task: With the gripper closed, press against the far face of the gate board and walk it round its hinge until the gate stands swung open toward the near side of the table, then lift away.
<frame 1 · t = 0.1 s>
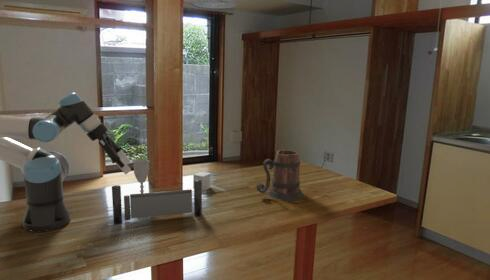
hand: (128, 167, 151), 15 cm above the table, tool tilted 35°, fingers open, 13 cm apart
product box: (202, 188, 174), on the table
chalice: (142, 202, 155), on the table
gate frame: (127, 221, 136), on the table
tankard: (279, 195, 168), on the table
gate leaf: (158, 204, 138), point 6 cm above the table, hinge at 0.0°
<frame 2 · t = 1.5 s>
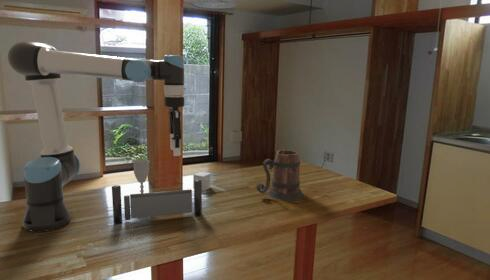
hand: (175, 152, 144), 24 cm above the table, tool pointing down, fingers open, 10 cm apart
nothing on the table moved.
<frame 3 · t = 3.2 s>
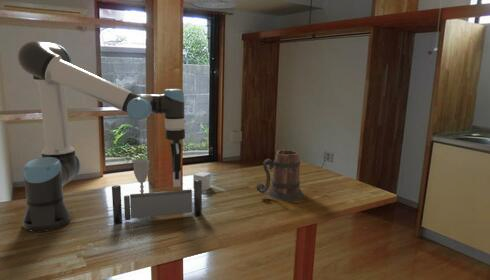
hand: (176, 186, 147), 10 cm above the table, tool pointing down, fingers closed
nothing on the table moved.
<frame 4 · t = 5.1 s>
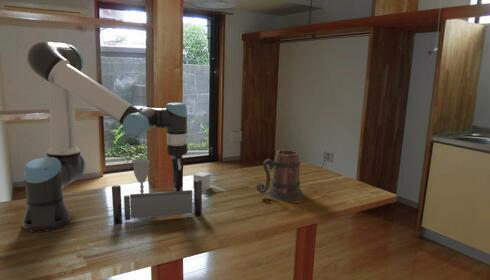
hand: (178, 201, 143), 5 cm above the table, tool pointing down, fingers closed
gate leaf: (158, 204, 137), point 6 cm above the table, hinge at -2.0°, touching gripper
everything else where it was.
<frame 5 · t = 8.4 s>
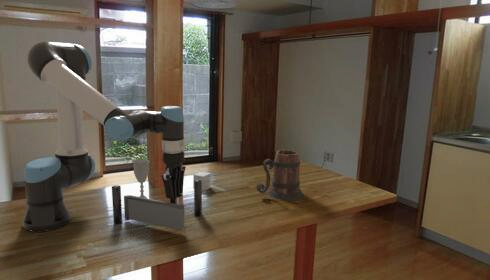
hand: (175, 214, 131), 5 cm above the table, tool pointing down, fingers closed
gate leaf: (153, 212, 130), point 6 cm above the table, hinge at -39.7°, touching gripper
everything else where it was.
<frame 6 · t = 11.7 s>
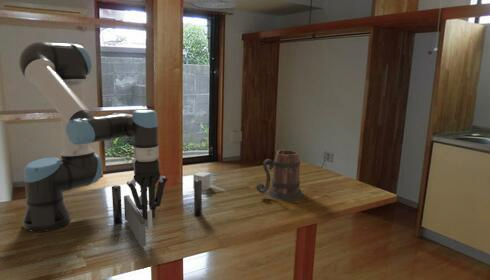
hand: (149, 227, 120), 5 cm above the table, tool pointing down, fingers closed
gate leaf: (134, 218, 125), point 6 cm above the table, hinge at -78.7°, touching gripper
everything else where it was.
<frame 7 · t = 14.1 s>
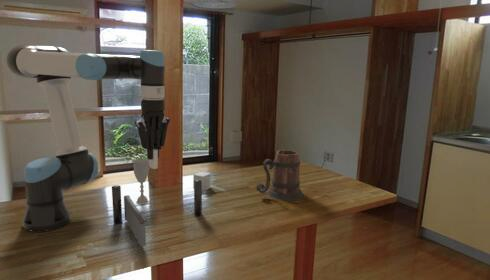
hand: (153, 167, 124), 23 cm above the table, tool pointing down, fingers closed
gate leaf: (134, 218, 124), point 6 cm above the table, hinge at -78.8°
everything else where it was.
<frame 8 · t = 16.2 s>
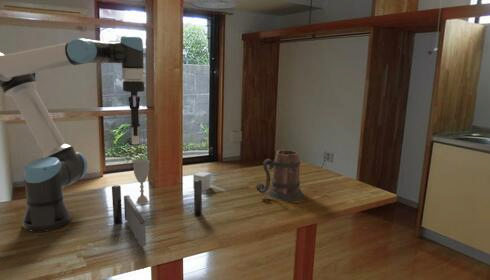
hand: (135, 143, 137), 28 cm above the table, tool pointing down, fingers closed
nothing on the table moved.
at the end: gate leaf at -79° (first picture: +0°); chalice moved 0.2 cm from its start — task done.
